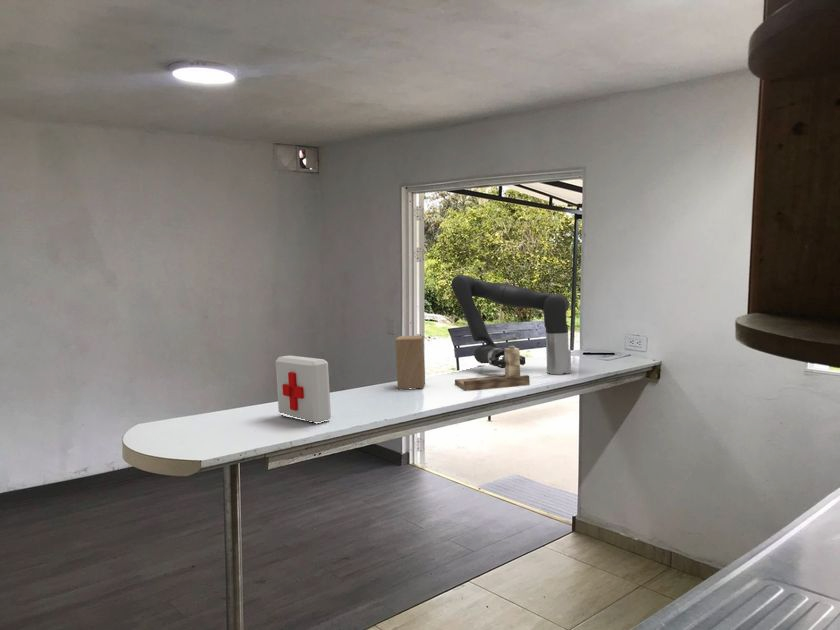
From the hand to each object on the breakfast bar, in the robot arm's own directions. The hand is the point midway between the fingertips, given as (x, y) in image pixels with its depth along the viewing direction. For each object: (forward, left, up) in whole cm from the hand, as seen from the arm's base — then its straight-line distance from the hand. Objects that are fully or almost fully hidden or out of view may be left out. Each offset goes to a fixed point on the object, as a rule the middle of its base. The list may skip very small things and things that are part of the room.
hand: (514, 363), depth 256 cm
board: (+8, -4, -8) cm, 13 cm away
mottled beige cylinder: (0, -2, -6) cm, 7 cm away
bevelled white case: (+83, +24, -9) cm, 87 cm away
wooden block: (+38, -14, -9) cm, 42 cm away
